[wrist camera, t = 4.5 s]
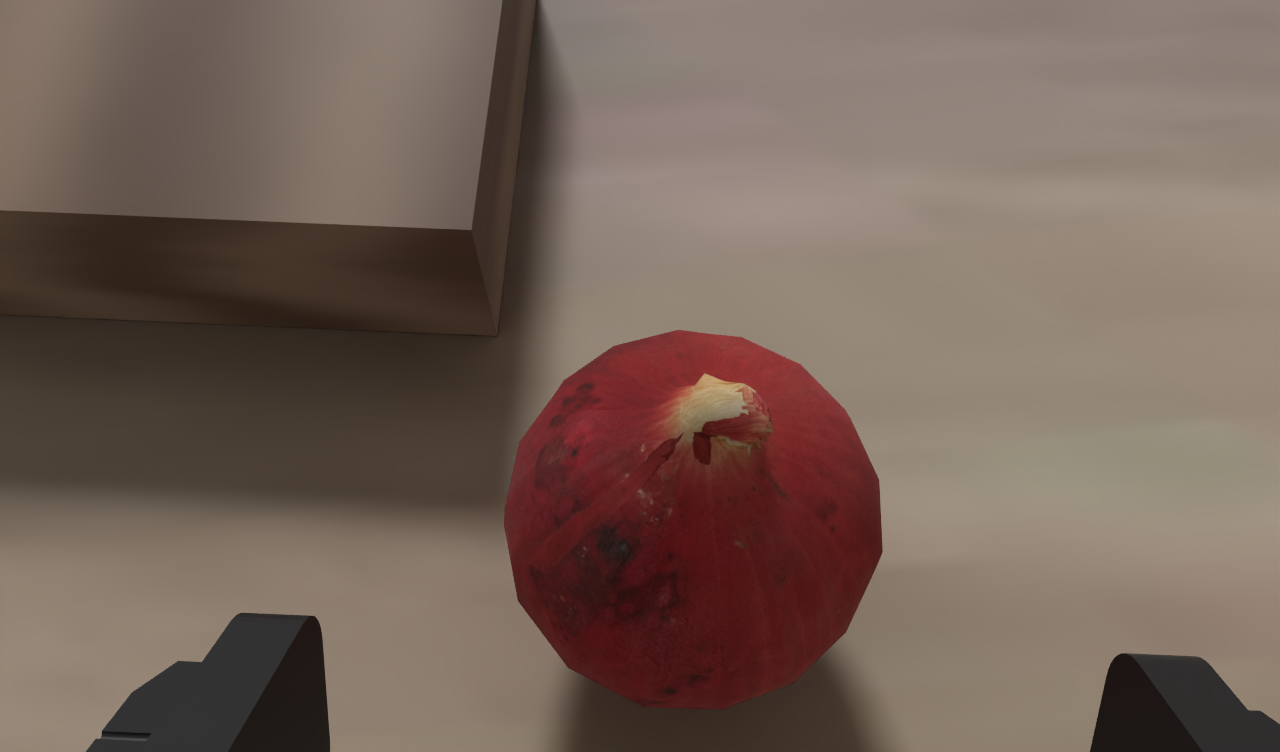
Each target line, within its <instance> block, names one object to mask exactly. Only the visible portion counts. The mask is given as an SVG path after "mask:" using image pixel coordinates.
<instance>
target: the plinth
mask: <svg viewBox="0 0 1280 752" xmlns="http://www.w3.org/2000/svg"><path fill="white" fill-rule="evenodd" d="M535 7H536V0H0V315H23V316H46V317H69V318H92V319H116V320H139V321H162V322H185V323H208V324H231V325H255V326H278V327H301V328H324V329H347V330H371V331H394V332H417V333H440V334H463V335H486V336H497V334H498V325H499V317H500V308H501V300H502V291H503V282H504V274H505V265H506V257H507V248H508V239H509V231H510V222H511V214H512V205H513V196H514V188H515V179H516V171H517V162H518V153H519V145H520V136H521V128H522V119H523V110H524V102H525V93H526V85H527V76H528V68H529V59H530V50H531V42H532V33H533V25H534V16H535Z"/></svg>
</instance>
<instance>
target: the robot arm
mask: <svg viewBox="0 0 1280 752" xmlns="http://www.w3.org/2000/svg"><path fill="white" fill-rule="evenodd" d="M86 752H330V736H329V722H328V708H327V695H326V681H325V668H324V654H323V641H322V632H321V627H320V624H319V621H318V620H317V618H316V617H315V616H303V615H280V614H257V613H240V614H238V615H236V616H235V617H234V618H233V619H232V620H231V622H230V623H229V625H228V626H227V627H226V629H225V630H224V632H223V633H222V634H221V636H220V637H219V639H218V640H217V641H216V643H215V644H214V646H213V647H212V649H211V650H210V651H209V653H208V654H207V656H206V657H205V658H204V660H203V661H202V662H187V661H178V662H176V663H175V664H173V665H172V666H170V667H169V668H167V669H166V670H164V671H163V672H161V673H160V674H159V675H157V676H156V677H154V678H153V679H151V680H150V681H148V682H147V683H145V684H144V685H142V686H141V687H139V688H138V689H137V690H135V691H134V692H132V693H131V694H130V696H129V697H128V698H127V700H126V701H125V702H124V703H123V705H122V706H121V707H120V709H119V710H118V711H117V712H116V714H115V715H114V716H113V718H112V719H111V720H110V721H109V723H108V724H107V725H106V727H105V728H104V729H103V730H102V736H101V739H95V741H94V742H93V743H92V745H91V746H90V747H89V748H88V750H87V751H86ZM1090 752H1280V724H1278V723H1277V722H1276V721H1274V720H1273V719H1271V718H1270V717H1268V716H1267V715H1265V714H1264V713H1263V712H1261V711H1249V710H1247V709H1246V707H1245V706H1244V705H1243V704H1242V703H1241V701H1240V700H1239V699H1238V698H1237V697H1236V695H1235V694H1234V693H1233V692H1232V691H1231V689H1230V688H1229V687H1228V686H1227V685H1226V683H1225V682H1224V681H1223V680H1222V679H1221V678H1220V676H1219V675H1218V674H1217V673H1216V672H1215V670H1214V669H1213V668H1212V667H1211V666H1210V665H1209V664H1208V663H1207V662H1206V661H1205V660H1203V659H1202V658H1199V657H1195V656H1172V655H1149V654H1126V653H1124V654H1119V655H1117V656H1116V657H1115V658H1114V659H1113V661H1112V662H1111V664H1110V667H1109V669H1108V673H1107V676H1106V681H1105V686H1104V690H1103V695H1102V699H1101V704H1100V708H1099V713H1098V718H1097V722H1096V727H1095V731H1094V736H1093V740H1092V745H1091V750H1090Z"/></svg>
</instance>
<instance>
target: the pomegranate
mask: <svg viewBox="0 0 1280 752" xmlns="http://www.w3.org/2000/svg"><path fill="white" fill-rule="evenodd" d="M504 527H505V532H506V538H507V543H508V549H509V554H510V560H511V565H512V571H513V576H514V582H515V587H516V592H517V598H518V601H519V603H520V604H521V605H522V607H523V608H524V609H525V611H526V612H527V613H528V615H529V616H530V617H531V619H532V620H533V621H534V623H535V624H536V625H537V627H538V628H539V629H540V631H541V632H542V633H543V635H544V636H545V637H546V639H547V640H548V641H549V643H550V644H551V645H552V647H553V648H554V649H555V651H556V652H557V653H558V655H559V656H560V657H561V659H562V660H563V661H564V663H565V664H566V665H567V667H568V668H570V669H572V670H574V671H575V672H577V673H579V674H581V675H583V676H585V677H587V678H589V679H591V680H593V681H595V682H596V683H598V684H600V685H602V686H604V687H606V688H608V689H610V690H612V691H614V692H615V693H617V694H619V695H621V696H623V697H625V698H627V699H629V700H631V701H633V702H635V703H636V704H638V705H640V706H642V707H659V708H693V709H725V708H728V707H731V706H733V705H736V704H739V703H741V702H744V701H746V700H749V699H752V698H754V697H757V696H760V695H762V694H765V693H768V692H770V691H773V690H776V689H778V688H781V687H783V686H786V685H789V684H791V683H794V682H795V681H796V680H797V679H798V678H799V677H800V676H801V675H802V674H803V673H804V672H805V671H806V670H807V669H808V668H809V667H810V666H811V665H812V664H813V663H814V662H815V661H817V660H818V659H819V658H820V657H821V656H822V655H823V654H824V653H825V652H826V651H827V650H828V649H829V648H830V647H831V646H832V645H833V644H834V643H835V642H836V641H837V640H838V639H839V638H840V637H842V636H843V635H844V634H845V633H846V631H847V629H848V627H849V625H850V622H851V620H852V618H853V616H854V614H855V612H856V610H857V607H858V605H859V603H860V601H861V599H862V597H863V594H864V592H865V590H866V588H867V586H868V584H869V582H870V579H871V577H872V575H873V573H874V571H875V569H876V566H877V564H878V562H879V559H880V557H881V554H882V531H881V510H880V489H879V479H878V477H877V474H876V472H875V470H874V468H873V466H872V464H871V462H870V459H869V457H868V455H867V453H866V451H865V449H864V446H863V444H862V442H861V440H860V438H859V436H858V434H857V431H856V429H855V427H854V425H853V423H852V421H851V419H850V417H849V415H848V414H847V412H846V411H845V409H844V408H843V407H842V406H841V405H840V404H839V403H838V402H837V401H836V400H835V399H834V398H833V397H832V396H831V395H830V394H829V393H828V392H827V391H826V390H825V389H824V388H823V387H822V386H821V385H820V384H819V383H818V382H817V381H816V380H815V379H814V378H813V377H812V376H811V375H810V374H809V373H808V372H807V370H806V369H805V368H804V367H803V366H802V365H800V364H798V363H796V362H794V361H792V360H790V359H788V358H785V357H783V356H781V355H779V354H777V353H775V352H772V351H770V350H768V349H766V348H764V347H762V346H759V345H757V344H755V343H753V342H751V341H749V340H746V339H744V338H742V337H735V336H725V335H714V334H705V333H698V332H690V331H683V330H676V331H672V332H668V333H664V334H660V335H656V336H652V337H648V338H644V339H640V340H636V341H632V342H628V343H624V344H620V345H616V346H613V347H612V348H610V349H609V350H607V351H606V352H605V353H603V354H602V355H600V356H599V357H597V358H596V359H594V360H593V361H591V362H590V363H589V364H587V365H586V366H584V367H583V368H581V369H580V370H578V371H577V372H576V373H574V374H573V375H571V376H570V377H568V378H567V379H565V380H564V381H563V383H562V384H561V386H560V387H559V389H558V390H557V392H556V393H555V394H554V396H553V397H552V399H551V400H550V401H549V403H548V404H547V405H546V407H545V408H544V409H543V411H542V412H541V413H540V415H539V416H538V418H537V419H536V420H535V422H534V423H533V424H532V426H531V427H530V428H529V430H528V431H527V432H526V434H525V435H524V437H523V438H522V439H521V441H520V443H519V447H518V452H517V456H516V461H515V465H514V470H513V474H512V479H511V483H510V488H509V492H508V497H507V501H506V505H505V516H504Z"/></svg>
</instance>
